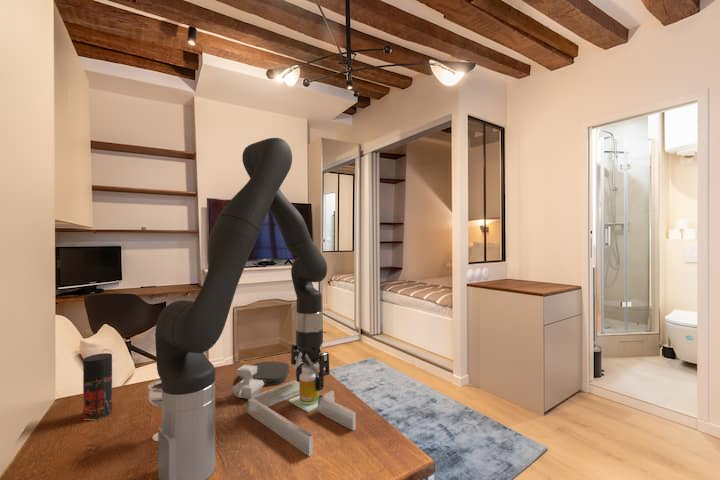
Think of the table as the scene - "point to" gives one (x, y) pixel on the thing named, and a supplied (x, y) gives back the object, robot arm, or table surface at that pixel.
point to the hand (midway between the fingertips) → (309, 385)
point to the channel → (286, 428)
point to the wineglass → (155, 397)
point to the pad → (305, 407)
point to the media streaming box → (271, 372)
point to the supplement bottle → (308, 386)
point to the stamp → (247, 382)
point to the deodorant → (97, 386)
